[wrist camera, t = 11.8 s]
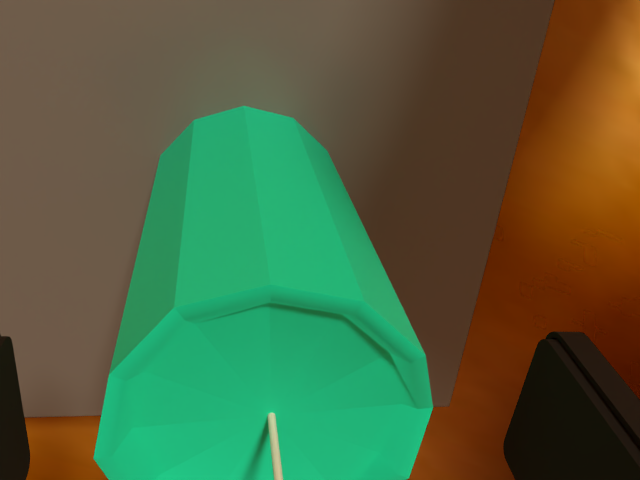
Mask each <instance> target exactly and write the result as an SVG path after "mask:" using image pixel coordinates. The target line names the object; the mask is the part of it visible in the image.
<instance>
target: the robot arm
mask: <svg viewBox="0 0 640 480" xmlns="http://www.w3.org/2000/svg"><path fill="white" fill-rule="evenodd" d="M504 455H505V459H506V461H507V463H508V465H509V467H510V469H511V471H512V473H513V475H514V478H515V480H640V400H639V399H638V397H637V396H636V395H635V394H634V393H633V391H632V390H631V389H630V388H629V386H628V385H627V384H626V383H625V382H624V380H623V379H622V378H621V377H620V376H619V374H618V373H617V372H616V371H615V369H614V368H613V367H612V366H611V365H610V363H609V362H608V361H607V360H606V359H605V357H604V356H603V355H602V354H601V352H600V351H599V350H598V349H597V348H596V346H595V345H594V344H593V343H592V341H591V340H590V339H589V338H588V337H587V336H586V335H585V334H584V333H581V332H551V333H549V334H548V335H547V337H546V339H543V340H541V341H540V342H539V343H538V345H537V348H536V350H535V353H534V356H533V359H532V362H531V365H530V368H529V371H528V373H527V376H526V379H525V382H524V385H523V388H522V391H521V394H520V396H519V399H518V402H517V405H516V408H515V411H514V414H513V417H512V419H511V422H510V425H509V428H508V431H507V434H506V437H505V440H504ZM29 464H30V450H29V444H28V437H27V431H26V425H25V418H24V412H23V406H22V400H21V393H20V387H19V381H18V374H17V368H16V362H15V356H14V349H13V343H12V339H11V338H10V337H9V336H1V335H0V480H26V477H27V474H28V470H29Z"/></svg>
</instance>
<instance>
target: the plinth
mask: <svg viewBox="0 0 640 480" xmlns="http://www.w3.org/2000/svg"><path fill="white" fill-rule="evenodd" d="M554 1H555V0H0V335H1V336H9V337H10V338H11V339H12V343H13V349H14V356H15V362H16V368H17V374H18V381H19V387H20V393H21V400H22V406H23V412H24V417H61V416H99V415H102V409H103V404H104V398H105V393H106V387H107V382H108V377H109V372H110V368H111V363H112V359H113V355H114V351H115V346H116V342H117V338H118V334H119V329H120V325H121V321H122V317H123V312H124V308H125V304H126V300H127V295H128V291H129V287H130V282H131V278H132V274H133V270H134V265H135V261H136V257H137V253H138V248H139V244H140V240H141V236H142V231H143V227H144V223H145V219H146V214H147V210H148V206H149V201H150V197H151V193H152V189H153V184H154V180H155V176H156V172H157V167H158V163H159V159H160V155H161V154H162V153H163V152H164V151H165V150H166V149H167V148H168V147H169V146H170V145H171V144H172V143H173V141H174V140H175V139H176V138H177V137H178V136H179V135H180V134H181V133H182V132H183V131H184V130H185V129H186V128H187V127H188V126H189V125H190V124H191V123H192V121H193V120H195V119H198V118H202V117H206V116H209V115H213V114H216V113H220V112H223V111H227V110H230V109H234V108H237V107H241V106H247V107H251V108H255V109H259V110H263V111H267V112H272V113H276V114H280V115H284V116H288V117H292V118H294V119H295V120H296V121H297V122H298V123H299V124H300V125H301V126H302V127H303V128H304V129H305V130H306V131H307V132H308V133H309V134H310V135H311V136H313V137H314V138H315V139H316V140H317V141H318V142H319V143H320V144H321V145H322V146H323V147H324V148H325V149H326V150H327V151H328V153H329V155H330V157H331V160H332V162H333V164H334V166H335V168H336V170H337V172H338V174H339V176H340V178H341V180H342V182H343V184H344V187H345V189H346V191H347V193H348V195H349V197H350V199H351V201H352V203H353V205H354V207H355V209H356V211H357V214H358V216H359V218H360V220H361V222H362V224H363V226H364V228H365V230H366V232H367V234H368V236H369V239H370V241H371V243H372V245H373V247H374V249H375V251H376V253H377V255H378V257H379V259H380V261H381V263H382V266H383V268H384V270H385V272H386V274H387V276H388V278H389V280H390V282H391V284H392V286H393V288H394V290H395V293H396V295H397V297H398V299H399V301H400V303H401V305H402V307H403V309H404V311H405V313H406V315H407V317H408V320H409V322H410V324H411V326H412V328H413V330H414V332H415V334H416V336H417V338H418V340H419V342H420V345H421V347H422V349H423V351H424V353H425V355H426V360H427V368H428V375H429V382H430V389H431V396H432V403H433V407H445V406H449V405H450V401H451V397H452V393H453V390H454V386H455V382H456V378H457V374H458V370H459V367H460V363H461V359H462V355H463V351H464V347H465V343H466V340H467V336H468V332H469V328H470V324H471V320H472V316H473V313H474V309H475V305H476V301H477V297H478V293H479V290H480V286H481V282H482V278H483V274H484V270H485V266H486V263H487V259H488V255H489V251H490V247H491V243H492V240H493V236H494V232H495V228H496V224H497V220H498V216H499V213H500V209H501V205H502V201H503V197H504V193H505V190H506V186H507V182H508V178H509V174H510V170H511V166H512V163H513V159H514V155H515V151H516V147H517V143H518V140H519V136H520V132H521V128H522V124H523V120H524V116H525V113H526V109H527V105H528V101H529V97H530V93H531V90H532V86H533V82H534V78H535V74H536V70H537V66H538V63H539V59H540V55H541V51H542V47H543V43H544V40H545V36H546V32H547V28H548V24H549V20H550V16H551V13H552V9H553V5H554Z"/></svg>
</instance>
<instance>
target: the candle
mask: <svg viewBox="0 0 640 480" xmlns="http://www.w3.org/2000/svg"><path fill="white" fill-rule="evenodd" d="M432 410H433V403H432V396H431V389H430V382H429V375H428V368H427V360H426V355H425V353H424V351H423V349H422V347H421V345H420V342H419V340H418V338H417V336H416V334H415V332H414V330H413V328H412V326H411V324H410V322H409V320H408V317H407V315H406V313H405V311H404V309H403V307H402V305H401V303H400V301H399V299H398V297H397V295H396V293H395V290H394V288H393V286H392V284H391V282H390V280H389V278H388V276H387V274H386V272H385V270H384V268H383V266H382V263H381V261H380V259H379V257H378V255H377V253H376V251H375V249H374V247H373V245H372V243H371V241H370V239H369V236H368V234H367V232H366V230H365V228H364V226H363V224H362V222H361V220H360V218H359V216H358V214H357V211H356V209H355V207H354V205H353V203H352V201H351V199H350V197H349V195H348V193H347V191H346V189H345V187H344V184H343V182H342V180H341V178H340V176H339V174H338V172H337V170H336V168H335V166H334V164H333V162H332V160H331V157H330V155H329V153H328V151H327V150H326V149H325V148H324V147H323V146H322V145H321V144H320V143H319V142H318V141H317V140H316V139H315V138H314V137H313V136H311V135H310V134H309V133H308V132H307V131H306V130H305V129H304V128H303V127H302V126H301V125H300V124H299V123H298V122H297V121H296V120H295V119H294V118H292V117H288V116H284V115H280V114H276V113H272V112H267V111H263V110H259V109H255V108H251V107H247V106H241V107H237V108H234V109H230V110H227V111H223V112H220V113H216V114H213V115H209V116H206V117H202V118H198V119H195V120H193V121H192V123H191V124H190V125H189V126H188V127H187V128H186V129H185V130H184V131H183V132H182V133H181V134H180V135H179V136H178V137H177V138H176V139H175V140H174V141H173V143H172V144H171V145H170V146H169V147H168V148H167V149H166V150H165V151H164V152H163V153H162V154H161V155H160V159H159V163H158V167H157V172H156V176H155V180H154V184H153V189H152V193H151V197H150V201H149V206H148V210H147V214H146V219H145V223H144V227H143V231H142V236H141V240H140V244H139V248H138V253H137V257H136V261H135V265H134V270H133V274H132V278H131V282H130V287H129V291H128V295H127V300H126V304H125V308H124V312H123V317H122V321H121V325H120V329H119V334H118V338H117V342H116V346H115V351H114V355H113V359H112V363H111V368H110V372H109V377H108V382H107V387H106V393H105V398H104V404H103V409H102V415H101V420H100V425H99V431H98V436H97V442H96V447H95V452H94V458H93V459H94V460H95V461H96V463H97V464H98V466H99V467H100V468H101V470H102V471H103V472H104V474H105V475H106V477H107V478H108V479H109V480H406V479H408V478H409V476H410V474H411V471H412V468H413V465H414V462H415V459H416V456H417V453H418V450H419V447H420V445H421V442H422V439H423V436H424V433H425V430H426V427H427V424H428V421H429V418H430V416H431V413H432Z"/></svg>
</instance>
